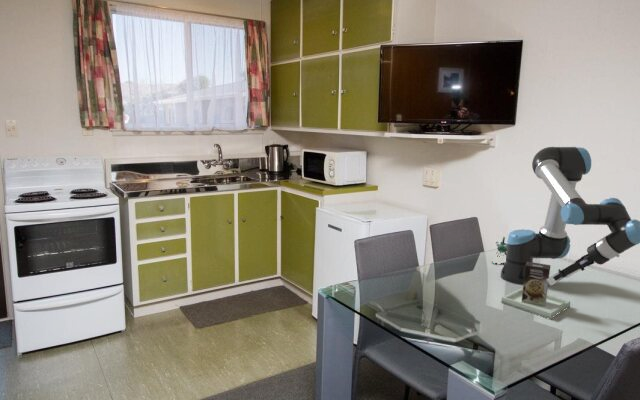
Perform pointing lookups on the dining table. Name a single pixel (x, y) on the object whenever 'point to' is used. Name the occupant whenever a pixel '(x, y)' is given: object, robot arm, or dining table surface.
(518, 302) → the tray
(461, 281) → the dining table surface
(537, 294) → the coffee box
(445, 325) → the dining table surface
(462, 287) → the dining table surface
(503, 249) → the frog figurine
